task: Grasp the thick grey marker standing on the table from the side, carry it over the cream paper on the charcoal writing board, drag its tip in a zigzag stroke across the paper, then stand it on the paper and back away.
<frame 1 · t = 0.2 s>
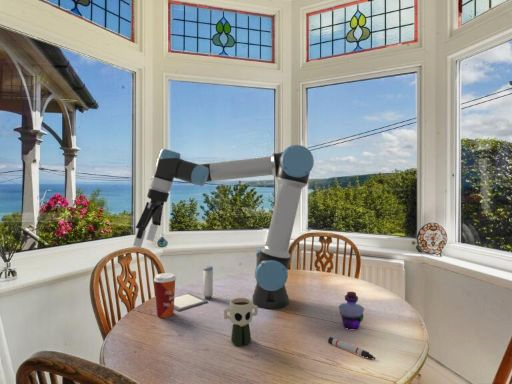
hand: (143, 243, 128), 27 cm above the table, tool tilted 15°, fingers open, 13 cm apart
potion bottle: (351, 327, 117), on the table
thick grey marker: (208, 298, 146), on the table
writing board: (184, 302, 141), on the table
coffee cup: (165, 315, 128), on the table
marker: (351, 352, 100), on the table
character mug: (241, 342, 106), on the table
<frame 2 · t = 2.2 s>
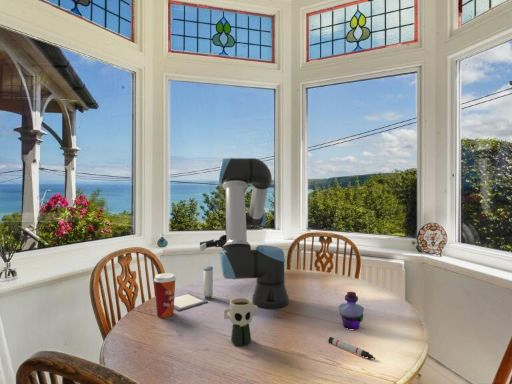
hand: (214, 249, 155), 19 cm above the table, tool horizontal, fingers open, 13 cm apart
nothing on the table moved.
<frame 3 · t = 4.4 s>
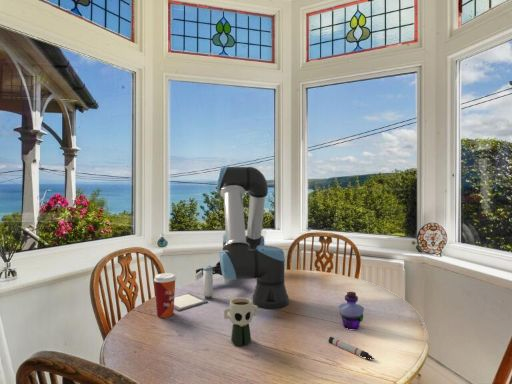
hand: (210, 278, 151), 7 cm above the table, tool horizontal, fingers open, 13 cm apart
nothing on the table moved.
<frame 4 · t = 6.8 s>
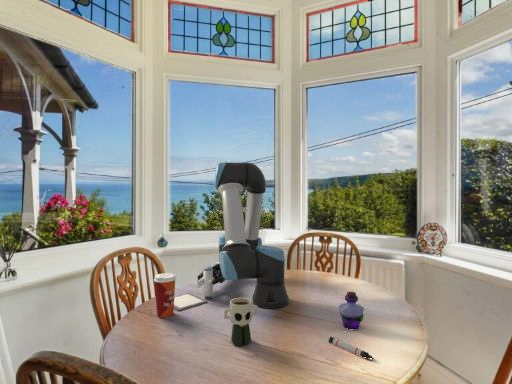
hand: (203, 284, 141), 8 cm above the table, tool horizontal, fingers closed on thick grey marker, 4 cm apart
thick grey marker: (208, 298, 146), on the table, touching gripper
everything else where it was.
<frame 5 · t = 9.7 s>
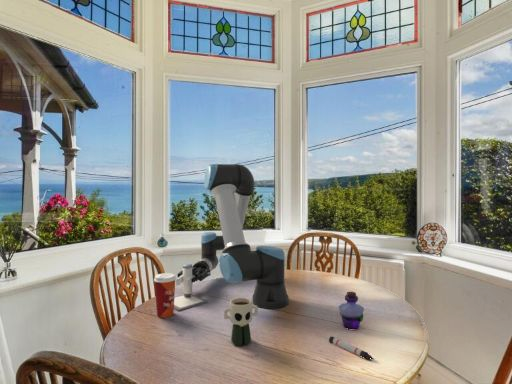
hand: (182, 282, 141), 9 cm above the table, tool horizontal, fingers closed on thick grey marker, 4 cm apart
thick grey marker: (187, 295, 146), point 1 cm above the table, touching gripper
everything else where it was.
when the fingers open (8 cm above the table, at t = 12.7 s): thick grey marker stays where it is, resting on writing board.
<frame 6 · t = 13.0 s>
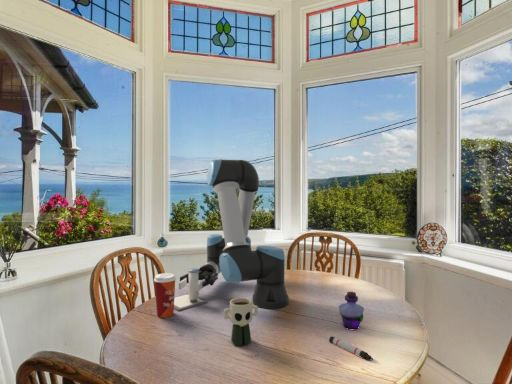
hand: (188, 286, 135), 8 cm above the table, tool horizontal, fingers open, 7 cm apart
thick grey marker: (193, 301, 140), point 1 cm above the table, touching writing board
everything else where it was.
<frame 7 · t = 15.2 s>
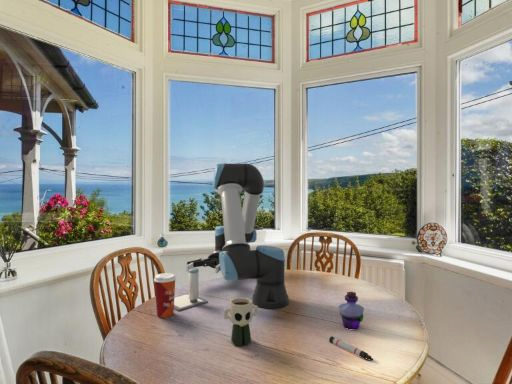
hand: (201, 269, 150), 12 cm above the table, tool horizontal, fingers open, 13 cm apart
nothing on the table moved.
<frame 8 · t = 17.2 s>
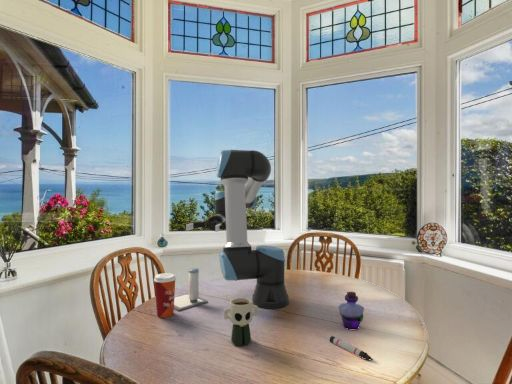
hand: (201, 228, 149), 30 cm above the table, tool horizontal, fingers open, 13 cm apart
nothing on the table moved.
at the end: thick grey marker inside the target area (4.5 cm from its centre), point 0.7 cm above the table; thick grey marker tilted 0°; thick grey marker moved 8.0 cm from its start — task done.
